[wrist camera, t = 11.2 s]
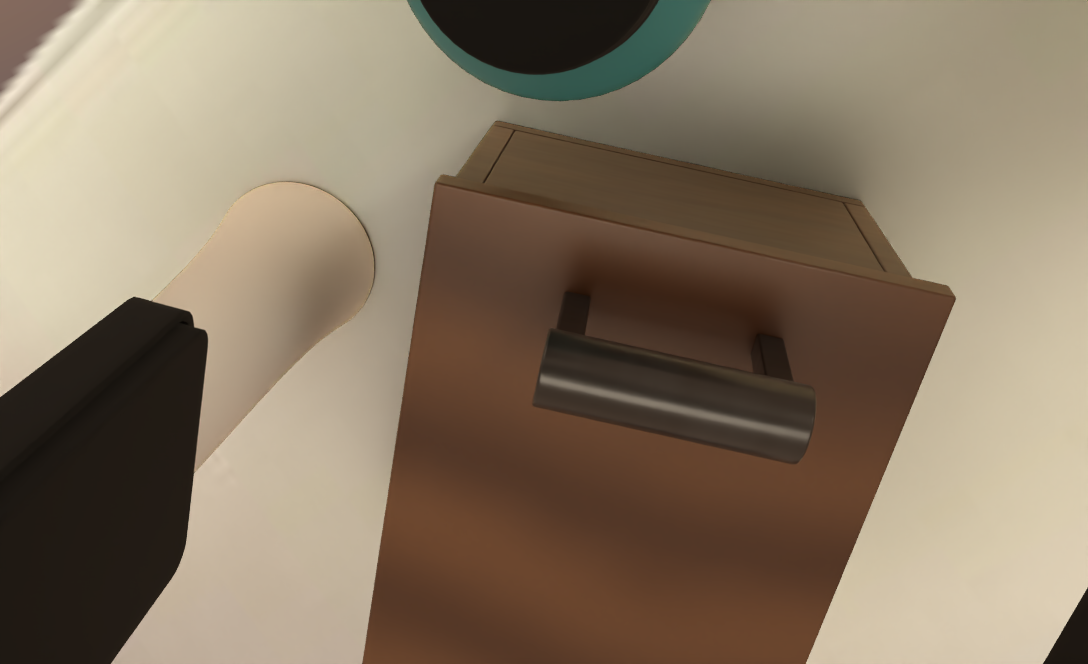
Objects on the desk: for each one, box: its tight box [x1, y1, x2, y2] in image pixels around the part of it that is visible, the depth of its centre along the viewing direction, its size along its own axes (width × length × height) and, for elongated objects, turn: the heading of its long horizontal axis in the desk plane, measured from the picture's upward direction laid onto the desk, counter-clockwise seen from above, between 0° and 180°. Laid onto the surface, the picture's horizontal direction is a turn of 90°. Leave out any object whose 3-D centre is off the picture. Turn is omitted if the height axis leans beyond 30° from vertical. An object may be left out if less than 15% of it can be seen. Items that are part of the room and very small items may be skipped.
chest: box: [456, 121, 912, 278], centre depth 34 cm, size 16×13×10 cm
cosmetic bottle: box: [152, 182, 374, 473], centre depth 28 cm, size 6×6×22 cm
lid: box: [362, 174, 956, 664], centre depth 27 cm, size 16×13×5 cm
